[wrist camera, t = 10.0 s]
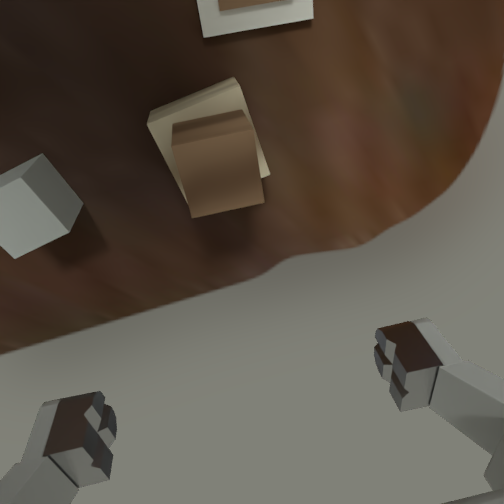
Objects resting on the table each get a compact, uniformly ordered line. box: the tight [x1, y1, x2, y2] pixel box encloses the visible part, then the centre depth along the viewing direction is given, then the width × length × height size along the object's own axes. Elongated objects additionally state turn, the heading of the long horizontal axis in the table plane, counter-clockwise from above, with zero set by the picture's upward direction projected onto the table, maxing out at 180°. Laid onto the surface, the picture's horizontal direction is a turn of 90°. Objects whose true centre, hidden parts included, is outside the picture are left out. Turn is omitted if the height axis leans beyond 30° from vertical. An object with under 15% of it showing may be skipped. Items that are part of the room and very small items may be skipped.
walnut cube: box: [171, 109, 265, 218], centre depth 26 cm, size 5×5×5 cm
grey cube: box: [0, 153, 84, 259], centre depth 29 cm, size 5×5×5 cm
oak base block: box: [147, 76, 270, 201], centre depth 29 cm, size 7×7×4 cm
